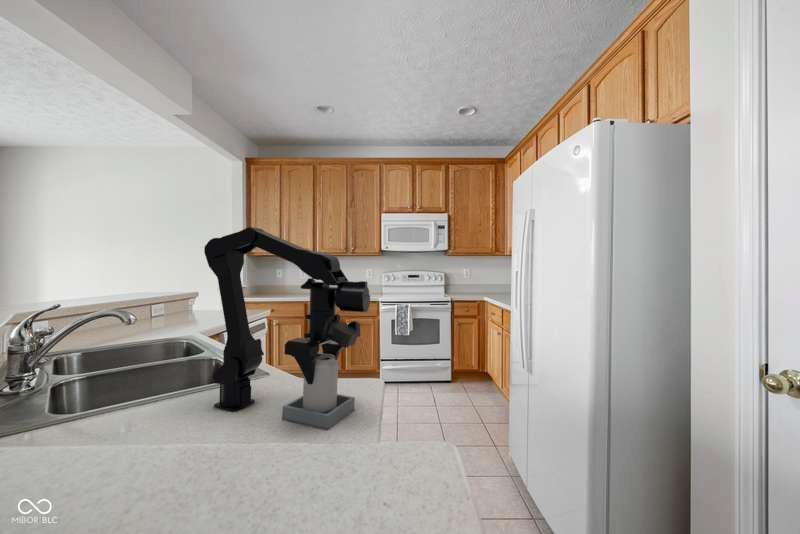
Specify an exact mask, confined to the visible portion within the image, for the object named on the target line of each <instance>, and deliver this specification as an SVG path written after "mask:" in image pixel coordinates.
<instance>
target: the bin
mask: <svg viewBox="0 0 800 534" xmlns="http://www.w3.org/2000/svg"><path fill="white" fill-rule="evenodd" d="M355 398H356V397H354V396H348V395H344V394H338V393H337V405H336V407H335V408H334V409H333V410H332V411H331V412H329V413H326V414H324V413H319V412H314V411H310V410H305V409H304V408H303V395H301V396H299V397H297V398H295V399H293V400H292V401H290V402H288V403H287V404H284V405H282V411H281V412H282V414H281V415H282V416H281V418H282V419H281V420H282V421H285V422H290V423H294V424H297V425H302V426H307V427H310V428H311V427H312V428H315V429H319V430H324V431H328V430H330V429H331V428H332V427H334V426H335V425H337V424H338V423H339V422H341V421H343V419H345V418H346V417H347V416H348V415H350V414H351V413H353V412H355V404H356V403H355V401H356V400H355Z"/></svg>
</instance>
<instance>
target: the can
mask: <svg viewBox="0 0 800 534" xmlns="http://www.w3.org/2000/svg"><path fill="white" fill-rule="evenodd" d="M319 354H321V356H320V357H319V358H318V359H317V360H316V364H315V372H314V380H313V384H308V383H307V381H306V379H305V377H304V376H303V384H302V385H303V387H302V388H303V389H302V392H303V393H302V396H303V408H304V409H305V410H310V411H314V412H319V413H324V414H326V413H329V412H331V411H332V410H333V409H334V408H335V407H336V405H337V394H338V376H339V375H338V373H339V372H338V371H339V363H338V360H337V361H336V360H335V356H334V355H332V354H325V353H323V352H322V353H319Z"/></svg>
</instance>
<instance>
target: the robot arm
mask: <svg viewBox="0 0 800 534" xmlns="http://www.w3.org/2000/svg"><path fill="white" fill-rule="evenodd" d="M256 248H258V249H259V250H263V251H265V252H266V253H269V254H272V255H273V256H276V257H277V258H280V259H283V260H285V261H288V262H290V263H291V264H293V265H295V266H297V268H298V269H299V270H301V271H302V272H303V273H304V274H306V275H307V276H308V277H309V278H308V279H307V280H306V281H305V282H304V283H303V284H302V285H300V289H301V290H309V313H306V314H305V315H304V316H305V317H304V319H305V320H308V331H307V332H304V337H297V338H293V339H288V340H287V341H286V343H284V350H283V351H284V353H283V354H284V355H287V356H291V357H292V358H294V359H295V361H296V363H297V365H298V367H299V369H300V370H301V372H302V375H303V378H304V377H305V379H306V381H307V383H308V384H313V380H314V372H315V364H316V360H317V359H318V358H319V357H320V356H321V354H320V353H319V351H320V347H321V349H322V353H325V354H332V355H334V356H335V360H336V361H337V362H338V357H339V355H340V353H341V351H342V350H343V349H344V348H345V349H346V348H349V347H351V346H355V345H356V342H357V339H358V338H360V337H361V325H360V322H358V321H356V320H352V321H350V322H349V323H347V322H342V321H341V316H340V314H339V313H336V308H339V310H340V311H341V312H351V313H367V312H368V310H369V308H370V303H371V295H370V289H369V287H368V281H363V280H362V281H361V280H359V281H349V280H348V278H347V276H346V275H345V274H344V272H343V270H342V269H341V264H340V261H339V258H338V257H337V256H335V255H334V254H331V253H326V252H322V251H316V250H311V249H308V248H307V249H306V248H304V247H302V246H299V245H297V244H295V243H293V242H289V241H288V240H285V239H283V238H281V237H278V236H276V235H273V234H271V233H269V232H267V231H265V230H264V229H262V228H258V227H253V226H249V227H246V228H243V229H242V230H240V231H236V232H234V233H230V234H227V235H223V236H221V237H213V238H211V239H209V241H207V243H206V244H205V245H204V250H203V251H204V256H205V259H206V262H207V265H208V267H209V268H210V270H211V271H212V273H214V275H215V276H216V278H217V281H218V283H217V284H218V289H219V293H220V295H219V296H220V301H221V305H222V312H223V318H224V323H225V330H226V335H227V336H226V338H227V339H226V343H225V346H224V348H223V353H222V354H223V355H222V356H223V357H222V358H223V363H222V365H221V366H220V367H219V368H217V369H216V370H215V371H214V372H213V374H212V379H213V382H214V384H217V385H219V402H216V403H214V404H213V407H214V408H218V409H222V410H227V411H230V412H236V411H238V410H240V409H243V408H245V407H247V406H249V405H251V404H254V403H255V401H256V400H255V399H252V385H251V378H250V377H251V376H253V375H255V374H256V371H257V368H258V367H260V365H261V364H262V361H263V356H264V355H265V353H264V351H263V347H262V340H261V338H258V339H255V337H254V336H253V335H252V333H251V331H250V326H249V325H250V324H249V320H248V319H249V318H248V313H247V308H246V303H245V295H244V291H243V284H242V283H243V282H242V279H241V272H242V270H243V267H244V264H245V255H247V254H249V253H251V252H253V251H254V250H255V249H256ZM336 286H337V287H336Z"/></svg>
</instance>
